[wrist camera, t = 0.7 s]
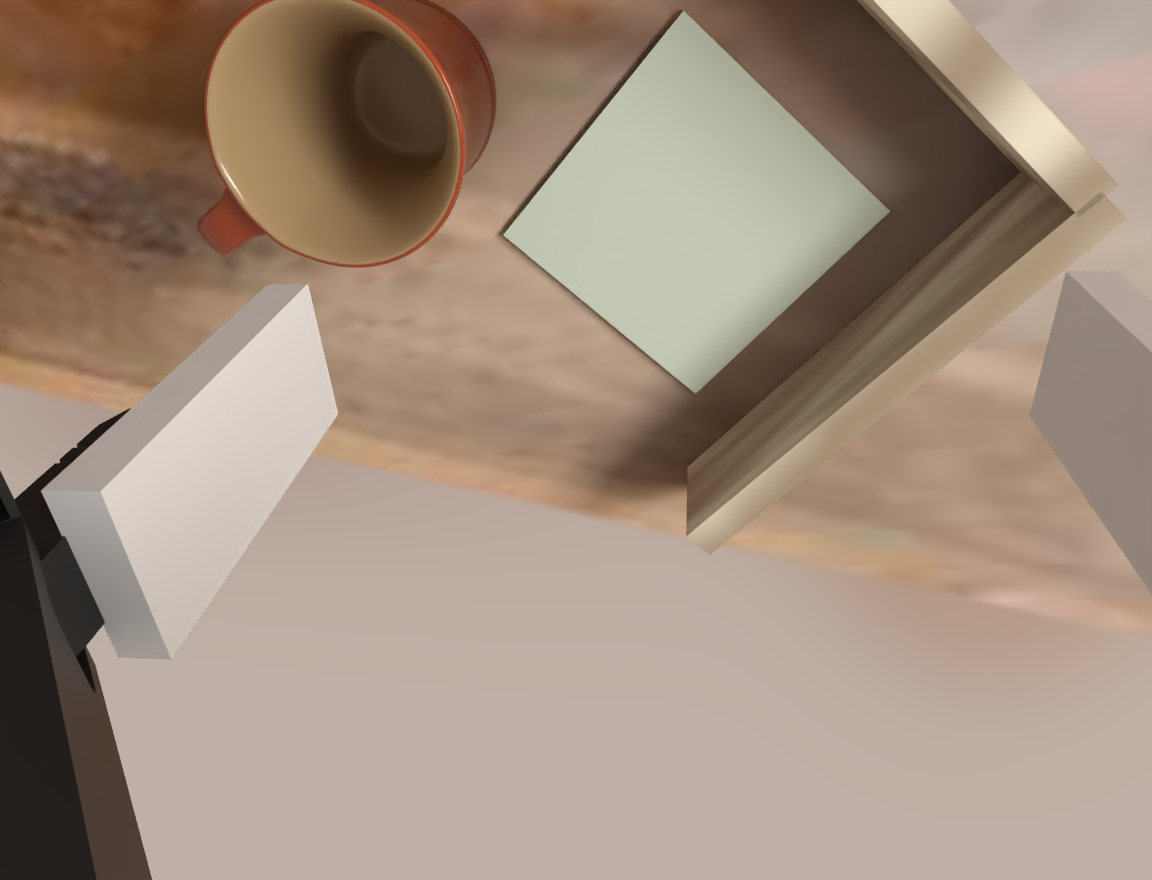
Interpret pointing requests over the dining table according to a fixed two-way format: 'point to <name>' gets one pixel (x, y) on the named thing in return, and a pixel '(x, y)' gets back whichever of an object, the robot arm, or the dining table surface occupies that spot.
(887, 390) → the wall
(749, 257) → the pad
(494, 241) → the dining table surface
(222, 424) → the robot arm
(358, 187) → the mug
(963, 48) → the side wall
